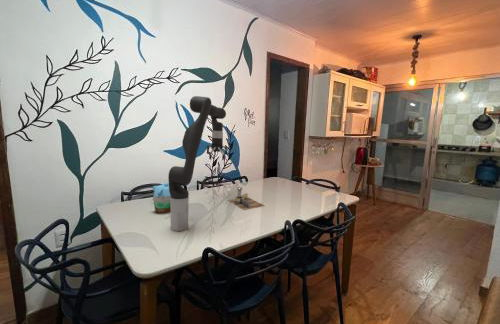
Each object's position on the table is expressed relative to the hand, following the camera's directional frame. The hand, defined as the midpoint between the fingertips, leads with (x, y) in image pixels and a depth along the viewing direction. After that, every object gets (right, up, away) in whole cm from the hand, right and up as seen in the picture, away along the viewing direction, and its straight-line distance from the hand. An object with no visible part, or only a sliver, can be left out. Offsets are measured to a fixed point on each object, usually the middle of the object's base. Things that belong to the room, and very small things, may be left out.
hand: (216, 160), depth 175 cm
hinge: (+21, -31, -1) cm, 37 cm away
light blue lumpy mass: (-35, -29, -2) cm, 45 cm away
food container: (-31, -33, -23) cm, 51 cm away
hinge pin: (+16, -30, -1) cm, 34 cm away
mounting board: (+21, -32, -1) cm, 38 cm away
